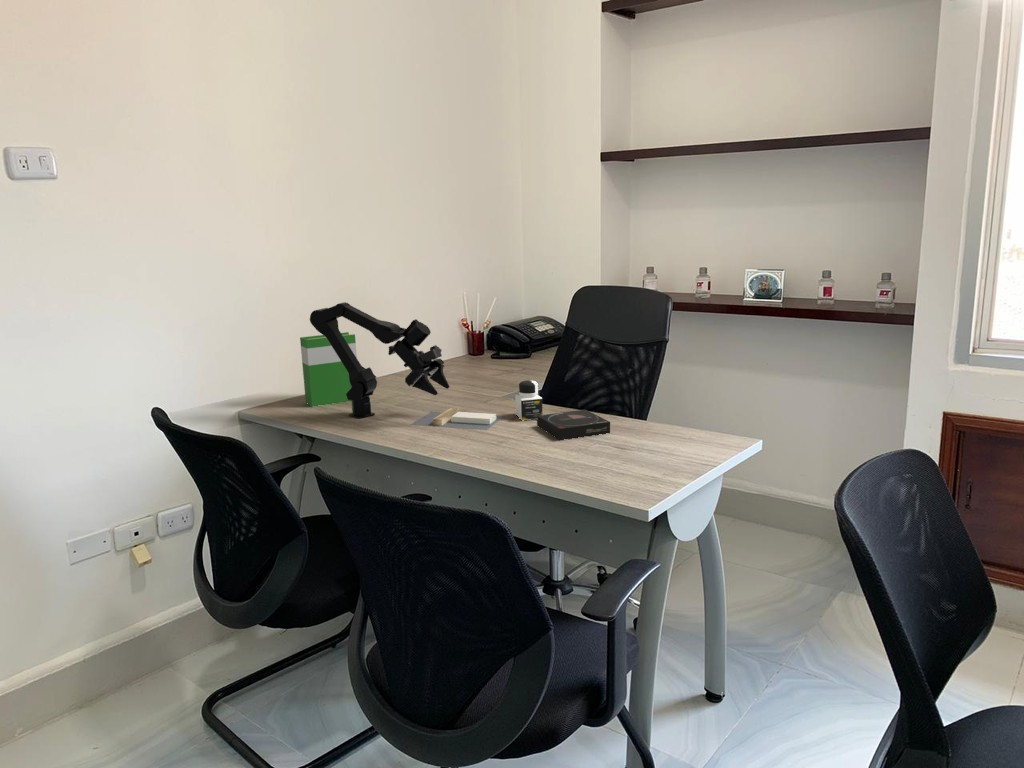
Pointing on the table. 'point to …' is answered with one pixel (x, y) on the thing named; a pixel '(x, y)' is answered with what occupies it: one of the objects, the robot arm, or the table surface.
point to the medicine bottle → (528, 401)
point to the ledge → (445, 416)
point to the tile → (473, 418)
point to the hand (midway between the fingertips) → (442, 391)
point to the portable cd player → (573, 424)
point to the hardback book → (324, 370)
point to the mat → (428, 421)
